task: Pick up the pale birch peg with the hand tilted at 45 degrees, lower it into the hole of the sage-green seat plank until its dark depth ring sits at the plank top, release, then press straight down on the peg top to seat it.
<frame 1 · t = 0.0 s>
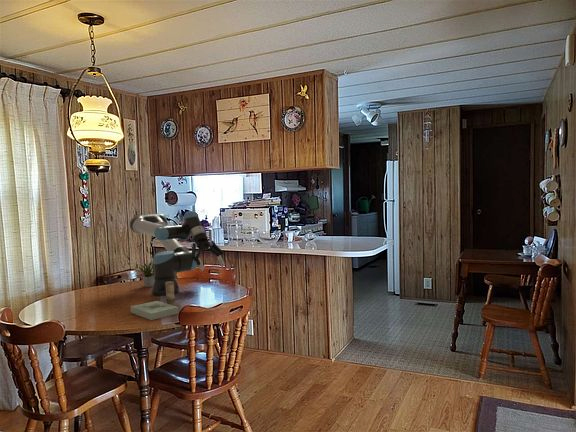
hand: (213, 268, 241), 15 cm above the table, tool tilted 35°, fingers open, 13 cm apart
seat plank: (154, 312, 209), on the table
peg: (170, 305, 222), on the table
house plant: (150, 285, 276), on the table
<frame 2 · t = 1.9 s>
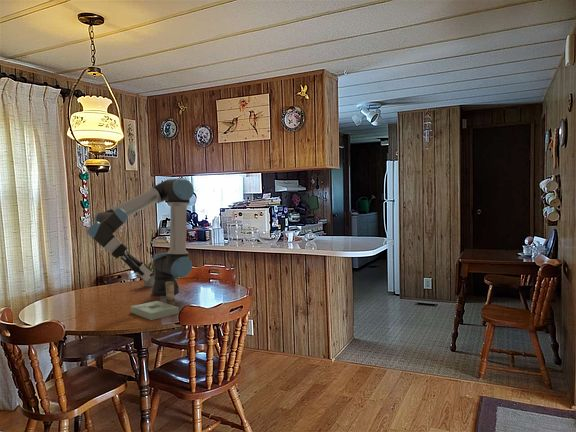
hand: (149, 276, 219), 15 cm above the table, tool tilted 45°, fingers open, 13 cm apart
nothing on the table moved.
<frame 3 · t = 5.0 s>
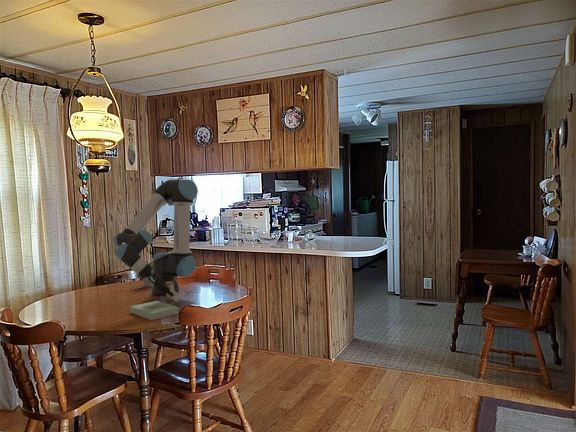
hand: (178, 298, 222), 3 cm above the table, tool tilted 45°, fingers closed on peg, 4 cm apart
peg: (170, 305, 222), on the table, touching gripper
everything else where it was.
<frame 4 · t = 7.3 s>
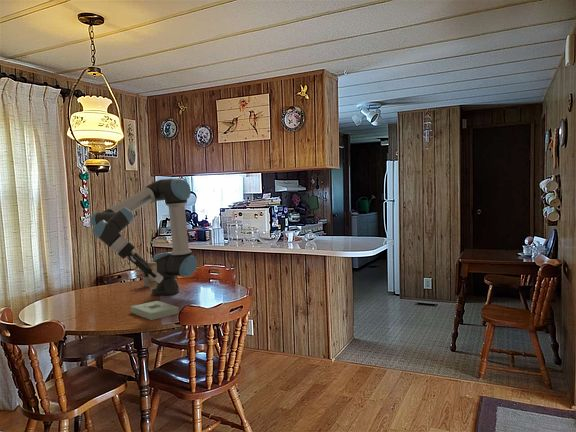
hand: (161, 280, 209), 15 cm above the table, tool tilted 45°, fingers closed on peg, 4 cm apart
peg: (153, 288, 208), point 12 cm above the table, touching gripper
everything else where it was.
when the fingers open (5 cm above the table, at t = 9.6 s): peg drops 2 cm, resting in seat plank.
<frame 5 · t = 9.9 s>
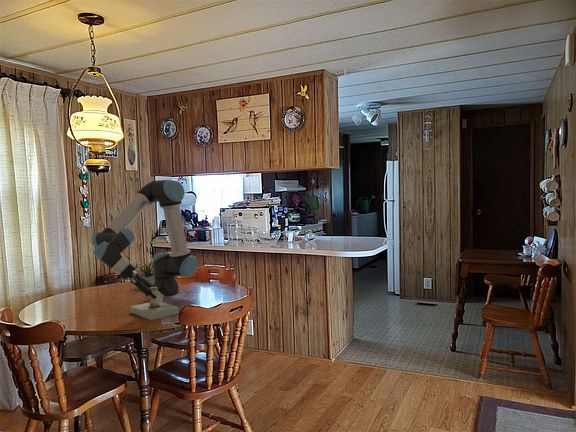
hand: (161, 300, 210), 6 cm above the table, tool tilted 45°, fingers open, 8 cm apart
peg: (154, 312, 209), resting in seat plank
everything else where it was.
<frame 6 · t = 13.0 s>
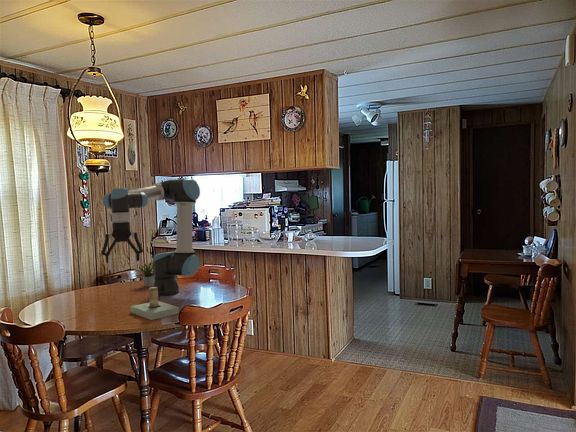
hand: (123, 269, 205), 22 cm above the table, tool pointing down, fingers open, 11 cm apart
nothing on the table moved.
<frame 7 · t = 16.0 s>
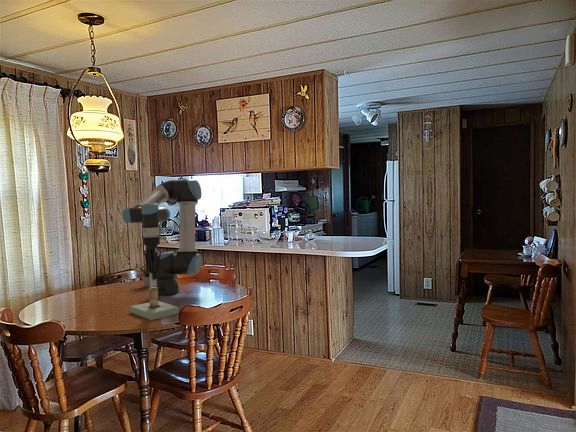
hand: (153, 286, 208), 13 cm above the table, tool pointing down, fingers closed
nothing on the table moved.
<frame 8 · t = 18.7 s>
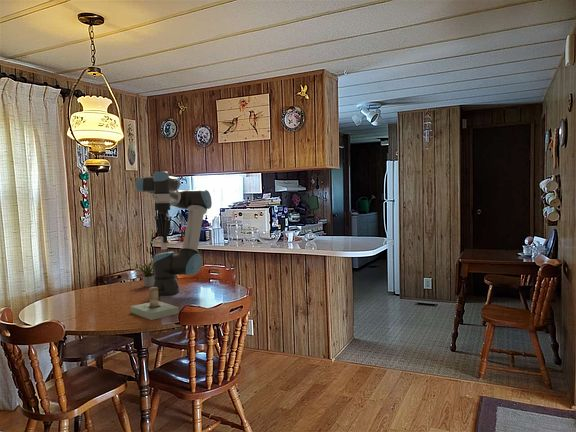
hand: (164, 249, 223), 28 cm above the table, tool pointing down, fingers closed
nothing on the table moved.
at the end: peg 0.1 cm off-centre in the seat plank, point 0.0 cm above the seat plank's base; peg tilted 1°; the gripper is holding nothing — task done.
